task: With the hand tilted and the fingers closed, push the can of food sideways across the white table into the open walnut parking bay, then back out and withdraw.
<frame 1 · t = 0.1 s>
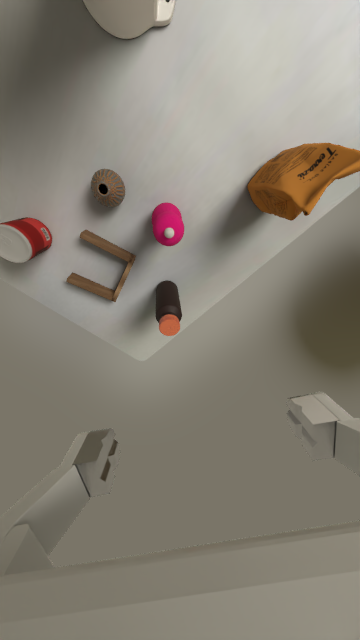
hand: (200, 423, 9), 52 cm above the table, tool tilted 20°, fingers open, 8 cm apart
bay: (102, 265, 56), on the table
vase: (112, 188, 46), on the table
pepper mill: (166, 217, 51), on the table
coffee package: (272, 182, 48), on the table
bottle: (167, 289, 62), on the table
canned food: (36, 233, 50), on the table
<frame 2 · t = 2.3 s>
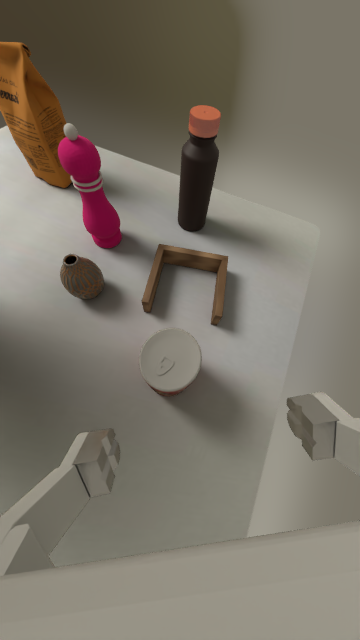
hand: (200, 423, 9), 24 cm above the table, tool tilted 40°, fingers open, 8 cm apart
bay: (185, 290, 41), on the table
vase: (90, 289, 40), on the table
pepper mill: (108, 238, 45), on the table
coffee package: (59, 175, 54), on the table
bottle: (191, 222, 49), on the table
canned food: (169, 372, 34), on the table
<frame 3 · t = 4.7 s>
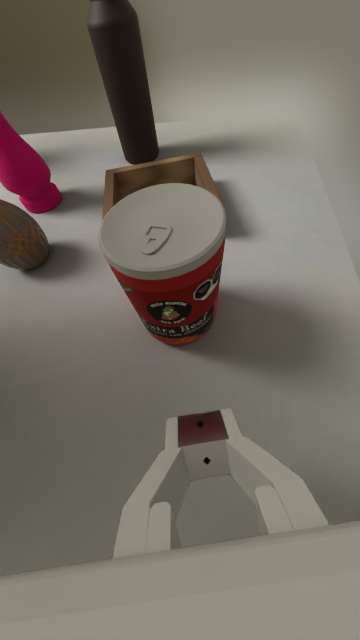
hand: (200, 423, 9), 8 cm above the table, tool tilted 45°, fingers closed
bay: (162, 216, 29), on the table
vase: (34, 259, 28), on the table
pepper mill: (45, 203, 34), on the table
bottle: (142, 157, 39), on the table
canned food: (179, 313, 21), on the table
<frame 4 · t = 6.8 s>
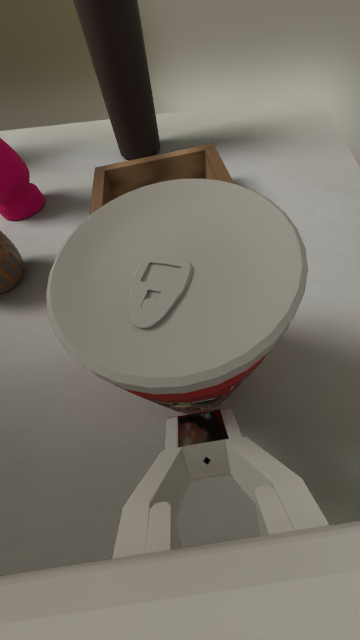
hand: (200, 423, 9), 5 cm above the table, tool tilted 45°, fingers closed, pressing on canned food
bay: (166, 223, 23), on the table
vase: (6, 280, 22), on the table
pepper mill: (25, 208, 29), on the table
bottle: (141, 152, 33), on the table
canned food: (191, 358, 16), on the table, touching gripper
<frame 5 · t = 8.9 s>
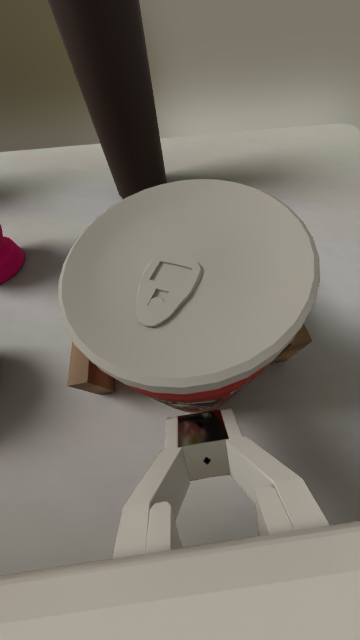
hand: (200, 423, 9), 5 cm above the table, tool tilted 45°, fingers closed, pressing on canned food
bay: (178, 305, 18), on the table
pepper mill: (1, 267, 23), on the table
bottle: (143, 191, 28), on the table
canned food: (195, 358, 16), on the table, touching gripper
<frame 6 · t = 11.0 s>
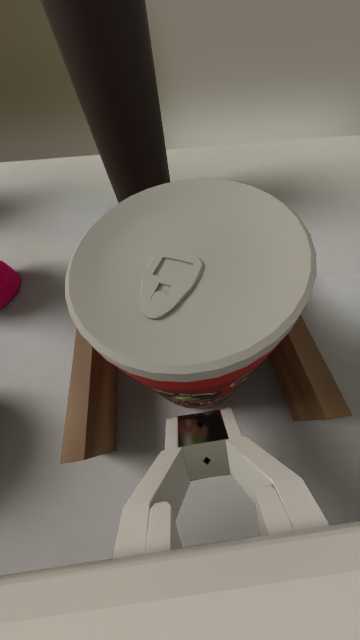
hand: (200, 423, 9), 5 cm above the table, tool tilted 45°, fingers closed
bay: (187, 344, 16), on the table
bottle: (148, 208, 26), on the table
canned food: (196, 356, 16), on the table
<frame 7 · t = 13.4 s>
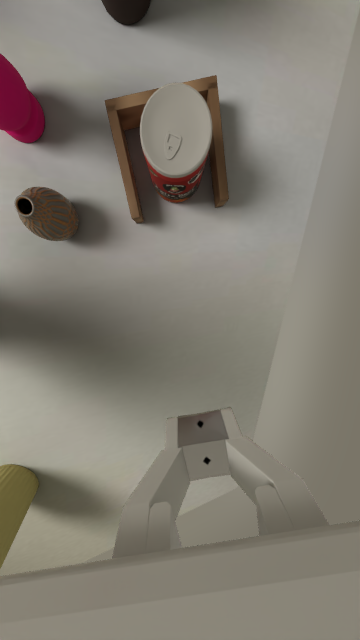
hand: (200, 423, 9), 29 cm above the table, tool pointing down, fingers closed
bay: (171, 168, 30), on the table
vase: (64, 220, 33), on the table
potted cactus: (16, 480, 49), on the table
pepper mill: (24, 118, 29), on the table
canned food: (176, 176, 31), on the table
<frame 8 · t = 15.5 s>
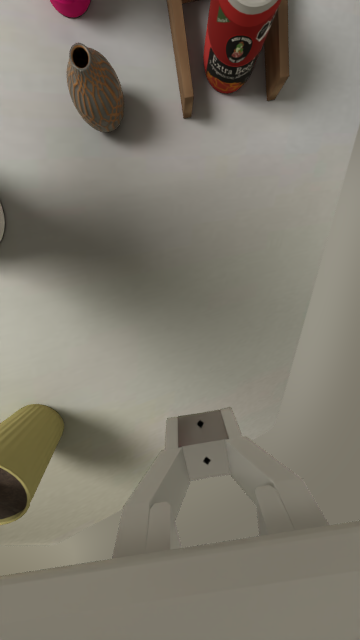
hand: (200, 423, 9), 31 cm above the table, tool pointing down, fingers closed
bay: (223, 53, 29), on the table
vase: (106, 114, 31), on the table
potted cactus: (40, 423, 47), on the table
canned food: (227, 63, 29), on the table
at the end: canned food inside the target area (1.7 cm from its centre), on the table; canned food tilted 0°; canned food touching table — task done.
